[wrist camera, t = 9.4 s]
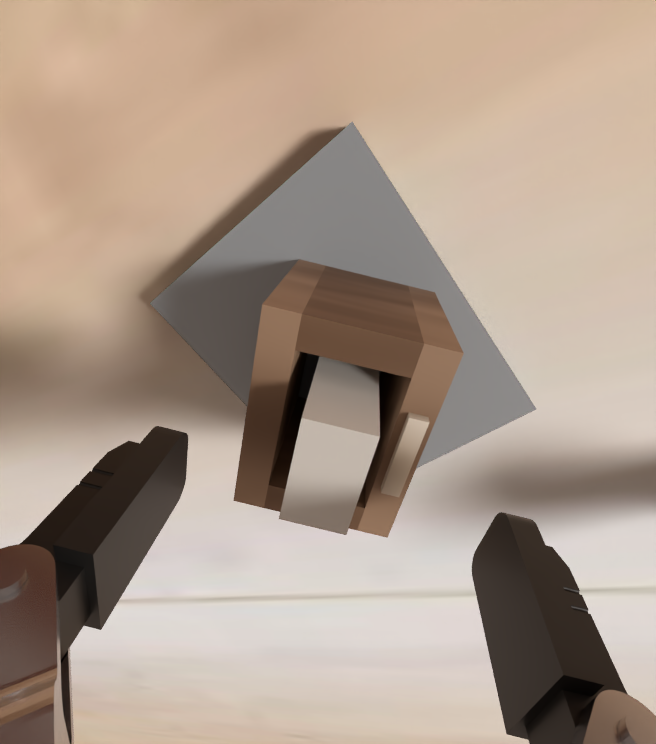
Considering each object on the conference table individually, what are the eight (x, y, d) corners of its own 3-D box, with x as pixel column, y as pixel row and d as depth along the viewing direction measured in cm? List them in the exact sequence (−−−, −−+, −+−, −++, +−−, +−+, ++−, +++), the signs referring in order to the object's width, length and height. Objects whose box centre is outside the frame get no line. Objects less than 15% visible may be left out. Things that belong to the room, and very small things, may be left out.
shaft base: (354, 125, 15) (328, 74, 7) (525, 392, 19) (639, 564, 11) (165, 293, 19) (-1, 393, 11) (342, 486, 23) (324, 667, 15)
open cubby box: (299, 259, 16) (259, 307, 11) (434, 292, 16) (466, 357, 11) (271, 410, 20) (230, 507, 14) (384, 437, 20) (387, 544, 14)
